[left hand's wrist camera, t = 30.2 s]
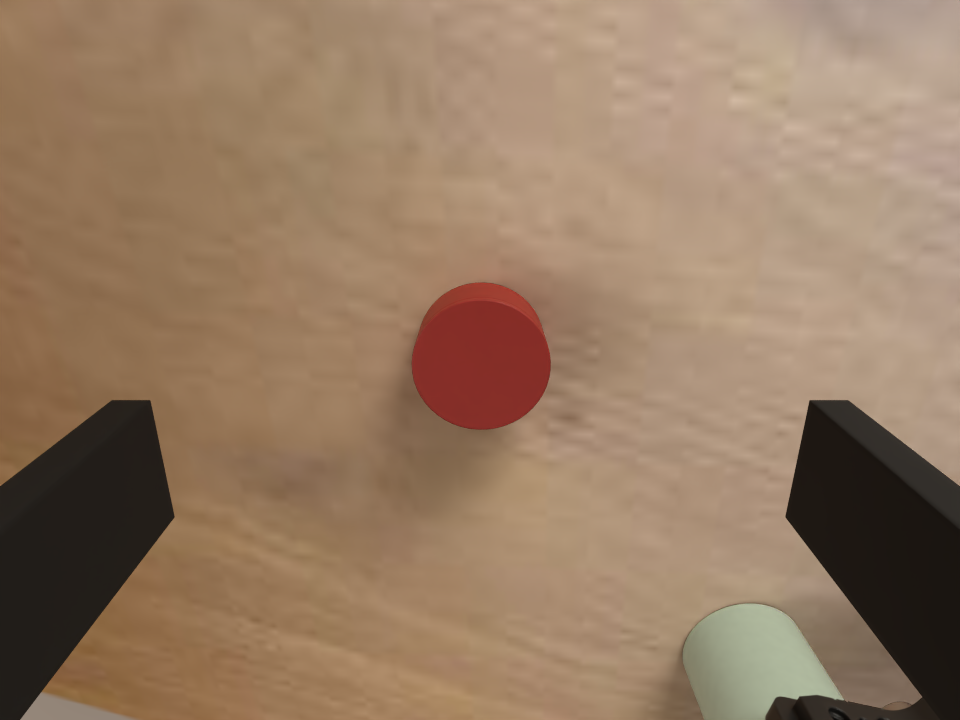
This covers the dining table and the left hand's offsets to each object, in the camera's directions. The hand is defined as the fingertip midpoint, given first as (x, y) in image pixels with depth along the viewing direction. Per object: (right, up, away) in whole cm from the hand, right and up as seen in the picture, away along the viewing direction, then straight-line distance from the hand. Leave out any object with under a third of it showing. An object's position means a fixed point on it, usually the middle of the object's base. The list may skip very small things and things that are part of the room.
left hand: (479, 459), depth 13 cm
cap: (0, +2, +7) cm, 7 cm away
